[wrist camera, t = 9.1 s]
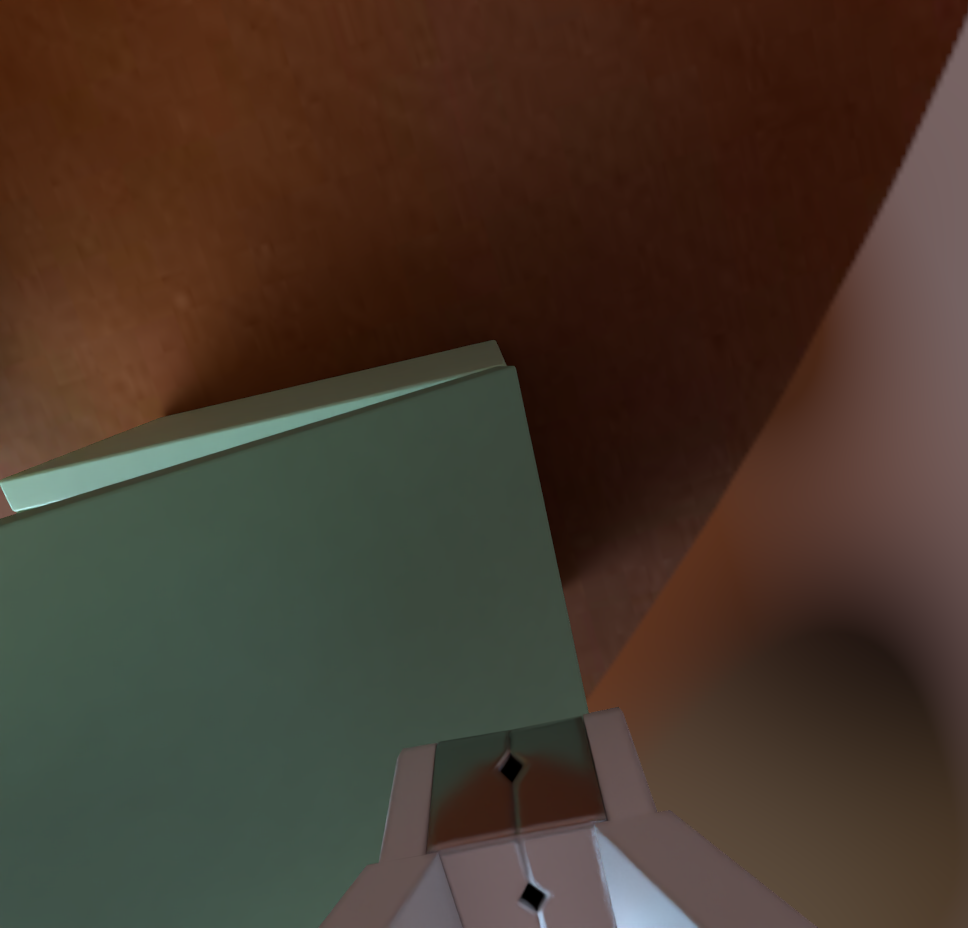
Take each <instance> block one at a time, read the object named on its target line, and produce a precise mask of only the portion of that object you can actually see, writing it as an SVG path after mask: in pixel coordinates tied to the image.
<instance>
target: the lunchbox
mask: <svg viewBox="0 0 968 928" xmlns="http://www.w3.org/2000/svg"><path fill="white" fill-rule="evenodd" d="M496 366H507V365H506V363H505V361H504V358H503V356H502V354H501V351H500V349H499V347H498V344H497V342H496V340H490V341H486V342H482V343H478V344H473V345H469V346H465V347H460V348H456V349H452V350H448V351H443V352H439V353H435V354H431V355H426V356H422V357H418V358H413V359H409V360H405V361H401V362H396V363H392V364H388V365H384V366H379V367H375V368H371V369H366V370H362V371H358V372H354V373H349V374H345V375H341V376H337V377H332V378H328V379H324V380H319V381H315V382H311V383H307V384H302V385H298V386H294V387H290V388H285V389H281V390H277V391H272V392H268V393H264V394H260V395H255V396H251V397H247V398H242V399H238V400H234V401H230V402H225V403H221V404H217V405H213V406H208V407H204V408H200V409H195V410H191V411H187V412H183V413H178V414H174V415H170V416H166V417H161V418H158V419H155V420H153V421H150V422H148V423H145V424H143V425H140V426H138V427H135V428H132V429H130V430H127V431H125V432H122V433H120V434H117V435H114V436H112V437H109V438H107V439H104V440H101V441H99V442H96V443H94V444H91V445H89V446H86V447H83V448H81V449H78V450H76V451H73V452H71V453H68V454H65V455H63V456H60V457H58V458H55V459H53V460H50V461H47V462H45V463H42V464H40V465H37V466H35V467H32V468H29V469H27V470H24V471H22V472H19V473H17V474H14V475H11V476H9V477H6V478H4V479H2V480H1V481H0V486H1V488H2V490H3V492H4V494H5V496H6V498H7V500H8V502H9V504H10V506H11V508H12V510H13V511H16V512H17V513H16V514H18V513H21V512H24V511H27V510H31V509H34V508H37V507H40V506H44V505H47V504H50V503H53V502H57V501H60V500H63V499H66V498H70V497H73V496H76V495H79V494H83V493H86V492H89V491H92V490H96V489H99V488H102V487H106V486H109V485H112V484H115V483H119V482H122V481H125V480H128V479H132V478H135V477H138V476H141V475H145V474H148V473H151V472H154V471H158V470H161V469H164V468H167V467H171V466H174V465H177V464H180V463H184V462H187V461H190V460H193V459H197V458H200V457H203V456H206V455H210V454H213V453H216V452H219V451H223V450H226V449H229V448H232V447H236V446H239V445H242V444H245V443H249V442H252V441H255V440H258V439H262V438H265V437H268V436H271V435H275V434H278V433H281V432H284V431H288V430H291V429H294V428H297V427H301V426H304V425H307V424H310V423H314V422H317V421H320V420H323V419H327V418H330V417H333V416H336V415H340V414H343V413H346V412H349V411H353V410H356V409H359V408H362V407H366V406H369V405H372V404H375V403H379V402H382V401H385V400H388V399H392V398H395V397H398V396H401V395H405V394H408V393H411V392H414V391H418V390H421V389H424V388H427V387H431V386H434V385H437V384H440V383H444V382H447V381H450V380H453V379H457V378H460V377H463V376H466V375H470V374H473V373H476V372H479V371H483V370H486V369H489V368H492V367H496Z"/></svg>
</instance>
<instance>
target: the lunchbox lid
mask: <svg viewBox="0 0 968 928" xmlns="http://www.w3.org/2000/svg"><path fill="white" fill-rule="evenodd" d="M588 713H589V712H588V707H587V703H586V698H585V693H584V688H583V684H582V679H581V674H580V670H579V665H578V660H577V655H576V651H575V646H574V641H573V636H572V632H571V627H570V622H569V617H568V613H567V608H566V603H565V599H564V594H563V589H562V584H561V580H560V575H559V570H558V565H557V561H556V556H555V551H554V546H553V542H552V537H551V532H550V528H549V523H548V518H547V513H546V509H545V504H544V499H543V494H542V490H541V485H540V480H539V476H538V471H537V466H536V461H535V457H534V452H533V447H532V442H531V438H530V433H529V428H528V423H527V419H526V414H525V409H524V405H523V400H522V395H521V390H520V386H519V381H518V376H517V371H516V368H515V366H496V367H492V368H489V369H486V370H483V371H479V372H476V373H473V374H470V375H466V376H463V377H460V378H457V379H453V380H450V381H447V382H444V383H440V384H437V385H434V386H431V387H427V388H424V389H421V390H418V391H414V392H411V393H408V394H405V395H401V396H398V397H395V398H392V399H388V400H385V401H382V402H379V403H375V404H372V405H369V406H366V407H362V408H359V409H356V410H353V411H349V412H346V413H343V414H340V415H336V416H333V417H330V418H327V419H323V420H320V421H317V422H314V423H310V424H307V425H304V426H301V427H297V428H294V429H291V430H288V431H284V432H281V433H278V434H275V435H271V436H268V437H265V438H262V439H258V440H255V441H252V442H249V443H245V444H242V445H239V446H236V447H232V448H229V449H226V450H223V451H219V452H216V453H213V454H210V455H206V456H203V457H200V458H197V459H193V460H190V461H187V462H184V463H180V464H177V465H174V466H171V467H167V468H164V469H161V470H158V471H154V472H151V473H148V474H145V475H141V476H138V477H135V478H132V479H128V480H125V481H122V482H119V483H115V484H112V485H109V486H106V487H102V488H99V489H96V490H92V491H89V492H86V493H83V494H79V495H76V496H73V497H70V498H66V499H63V500H60V501H57V502H53V503H50V504H47V505H44V506H40V507H37V508H34V509H31V510H27V511H24V512H21V513H18V514H14V515H11V516H8V517H5V518H1V519H0V928H318V927H319V926H320V925H321V924H322V922H323V921H324V920H325V918H326V917H327V916H328V915H329V913H330V912H331V911H332V909H333V908H334V907H335V905H336V904H337V903H338V902H339V900H340V899H341V898H342V896H343V895H344V894H345V893H346V891H347V890H348V889H349V887H350V886H351V885H352V883H353V882H354V881H355V880H356V878H357V877H358V876H359V874H360V873H361V872H362V871H363V869H364V868H365V867H366V865H370V864H375V863H379V858H380V852H381V846H382V841H383V835H384V829H385V824H386V818H387V813H388V807H389V801H390V796H391V790H392V784H393V779H394V773H395V768H396V762H397V758H398V756H399V754H400V752H401V751H402V749H403V748H409V747H415V746H421V745H427V744H433V743H439V742H440V741H446V740H452V739H458V738H464V737H470V736H476V735H482V734H488V733H494V732H500V731H506V730H512V729H517V728H522V727H527V726H532V725H537V724H542V723H547V722H552V721H557V720H562V719H567V718H572V717H577V716H582V719H583V714H588Z"/></svg>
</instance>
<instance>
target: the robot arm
mask: <svg viewBox="0 0 968 928" xmlns="http://www.w3.org/2000/svg"><path fill="white" fill-rule="evenodd" d="M318 928H818V927H816V926H815V925H814V924H813V923H811V922H810V921H809V920H808V919H806V918H805V917H804V916H802V915H801V914H800V913H799V912H797V911H796V910H795V909H794V908H792V907H791V906H790V905H789V904H787V903H786V902H785V901H784V900H782V899H781V898H780V897H779V896H777V895H776V894H775V893H774V892H772V891H771V890H770V889H769V888H767V887H766V886H765V885H764V884H762V883H761V882H760V881H758V880H757V879H756V878H755V877H753V876H752V875H751V874H750V873H748V872H747V871H746V870H745V869H743V868H742V867H741V866H740V865H738V864H737V863H736V862H734V861H733V860H732V859H731V858H730V857H728V856H727V855H726V854H724V853H723V852H722V851H721V850H719V849H718V848H717V847H716V846H714V845H713V844H712V843H711V842H709V841H708V840H707V839H706V838H704V837H703V836H702V835H701V834H699V833H698V832H697V831H695V830H694V829H693V828H692V827H690V826H689V825H688V824H687V823H685V822H684V821H683V820H682V819H680V818H679V817H678V816H677V815H675V814H674V813H673V812H672V811H670V810H668V811H662V812H657V810H656V807H655V804H654V801H653V798H652V796H651V792H650V789H649V787H648V784H647V781H646V778H645V775H644V772H643V769H642V766H641V763H640V760H639V758H638V755H637V752H636V749H635V746H634V743H633V740H632V737H631V734H630V731H629V729H628V726H627V723H626V720H625V717H624V714H623V712H622V710H621V709H620V708H619V707H616V708H611V709H607V710H602V711H597V712H592V713H588V714H583V719H582V716H577V717H572V718H567V719H562V720H557V721H552V722H547V723H542V724H537V725H532V726H527V727H522V728H517V729H512V730H506V731H500V732H494V733H488V734H482V735H476V736H470V737H464V738H458V739H452V740H446V741H440V742H439V743H433V744H427V745H421V746H415V747H409V748H403V749H402V751H401V752H400V754H399V756H398V758H397V762H396V768H395V773H394V779H393V784H392V790H391V796H390V801H389V807H388V813H387V818H386V824H385V829H384V835H383V841H382V846H381V852H380V858H379V863H375V864H370V865H366V867H365V868H364V869H363V871H362V872H361V873H360V874H359V876H358V877H357V878H356V880H355V881H354V882H353V883H352V885H351V886H350V887H349V889H348V890H347V891H346V893H345V894H344V895H343V896H342V898H341V899H340V900H339V902H338V903H337V904H336V905H335V907H334V908H333V909H332V911H331V912H330V913H329V915H328V916H327V917H326V918H325V920H324V921H323V922H322V924H321V925H320V926H319V927H318Z"/></svg>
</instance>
